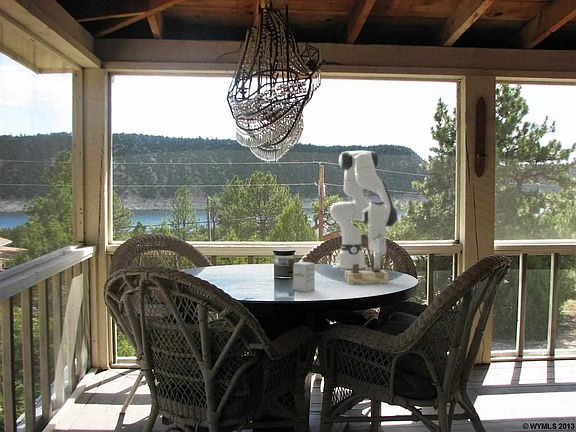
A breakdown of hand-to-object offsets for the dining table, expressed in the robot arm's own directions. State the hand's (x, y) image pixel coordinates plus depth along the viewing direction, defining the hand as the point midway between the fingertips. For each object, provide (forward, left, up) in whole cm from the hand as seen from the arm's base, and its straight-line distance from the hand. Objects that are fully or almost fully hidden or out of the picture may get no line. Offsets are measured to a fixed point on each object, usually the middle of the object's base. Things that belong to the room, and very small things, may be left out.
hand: (377, 261), depth 273 cm
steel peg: (0, 0, -6) cm, 6 cm away
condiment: (-16, +3, -11) cm, 20 cm away
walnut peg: (0, -11, -11) cm, 15 cm away
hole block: (0, -6, -10) cm, 12 cm away
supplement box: (+18, -40, -11) cm, 45 cm away
